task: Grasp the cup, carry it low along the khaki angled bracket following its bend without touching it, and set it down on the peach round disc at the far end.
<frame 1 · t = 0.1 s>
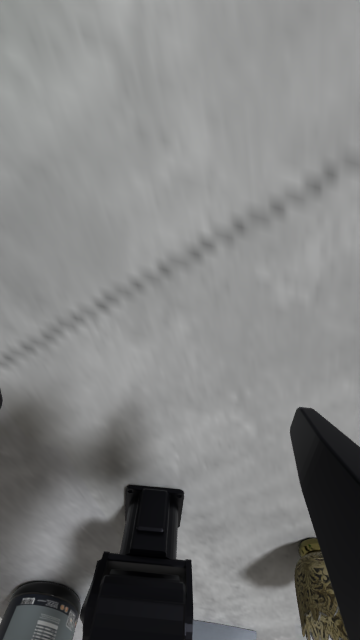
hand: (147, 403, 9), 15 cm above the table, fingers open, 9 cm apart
external hard drive: (190, 631, 50), on the table
cup: (311, 542, 37), on the table
supplement container: (49, 594, 45), on the table
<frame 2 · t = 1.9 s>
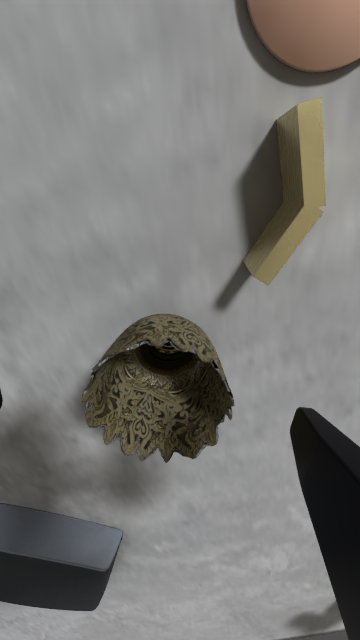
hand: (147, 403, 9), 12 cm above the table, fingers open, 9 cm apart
external hard drive: (36, 536, 35), on the table
khaki angled bracket: (264, 198, 17), on the table
cup: (169, 333, 22), on the table
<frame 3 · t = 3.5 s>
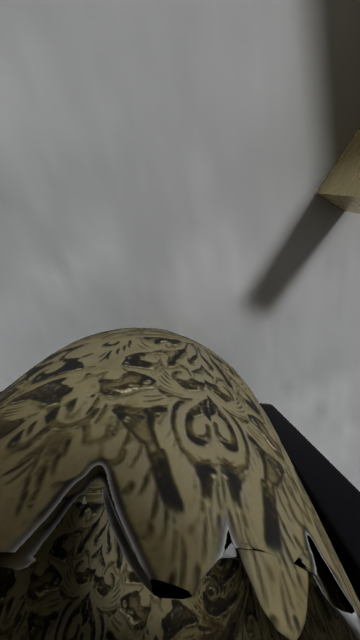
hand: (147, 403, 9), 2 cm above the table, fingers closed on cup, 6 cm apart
cup: (156, 362, 11), on the table, touching gripper
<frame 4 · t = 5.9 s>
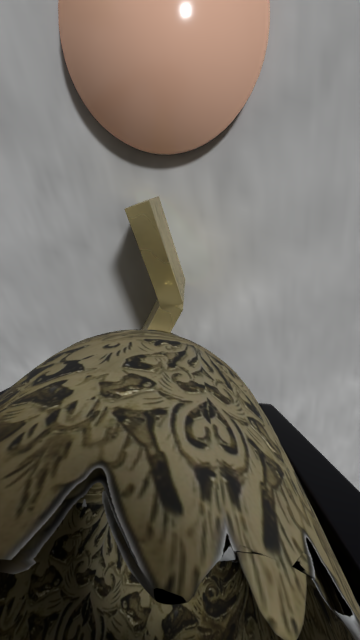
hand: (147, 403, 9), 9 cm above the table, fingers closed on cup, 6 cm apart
khaki angled bracket: (145, 278, 16), on the table
cup: (156, 363, 11), point 6 cm above the table, touching gripper
peach round disc: (164, 40, 12), on the table
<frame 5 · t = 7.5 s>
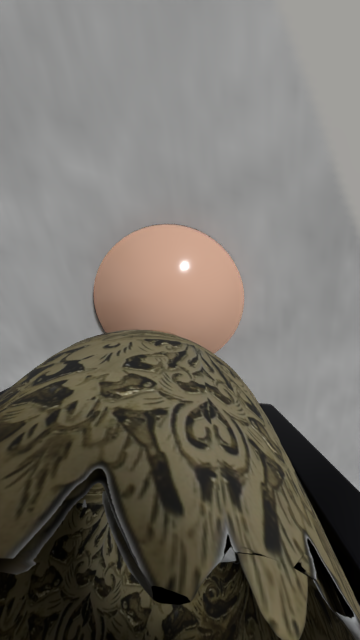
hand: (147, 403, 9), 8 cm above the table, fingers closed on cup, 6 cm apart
cup: (157, 363, 11), point 6 cm above the table, touching gripper
peach round disc: (169, 299, 16), on the table
when the fingers open (4 cm above the table, at t = 8.6 s): cup drops 2 cm, resting on peach round disc.
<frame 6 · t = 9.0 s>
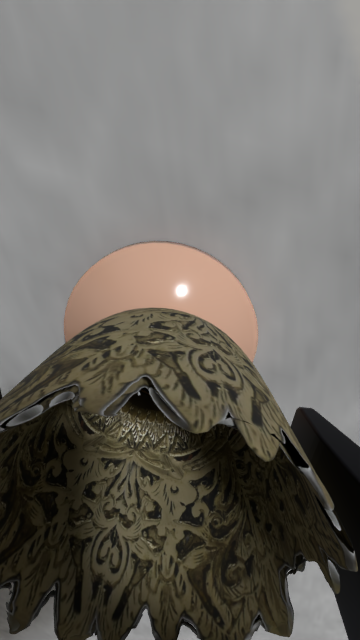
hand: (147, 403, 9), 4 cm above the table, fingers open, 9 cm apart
cup: (166, 343, 12), resting on peach round disc
peach round disc: (161, 335, 13), on the table
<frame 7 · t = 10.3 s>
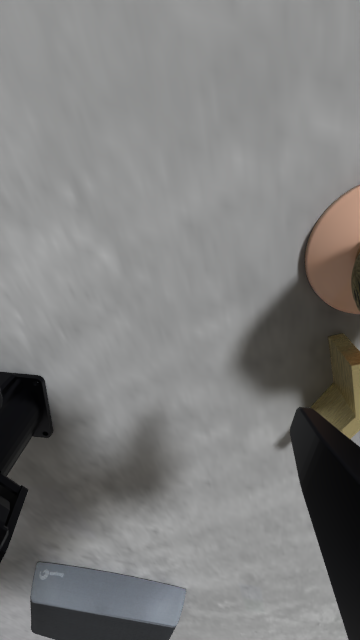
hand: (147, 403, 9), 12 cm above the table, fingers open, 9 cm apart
external hard drive: (109, 589, 40), on the table
khaki angled bracket: (318, 381, 22), on the table
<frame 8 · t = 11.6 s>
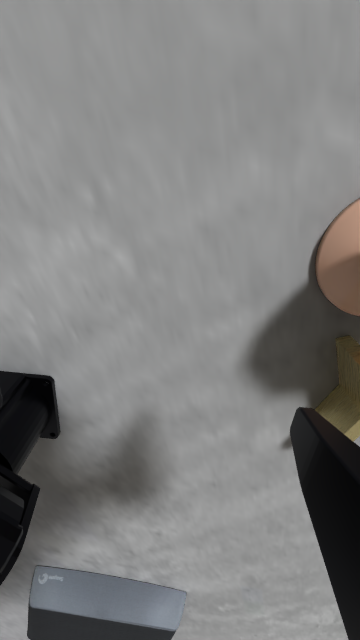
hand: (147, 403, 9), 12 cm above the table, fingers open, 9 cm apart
external hard drive: (107, 593, 40), on the table
khaki angled bracket: (324, 382, 23), on the table
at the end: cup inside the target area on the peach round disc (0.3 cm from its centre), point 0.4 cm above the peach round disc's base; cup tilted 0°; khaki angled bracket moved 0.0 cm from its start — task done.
